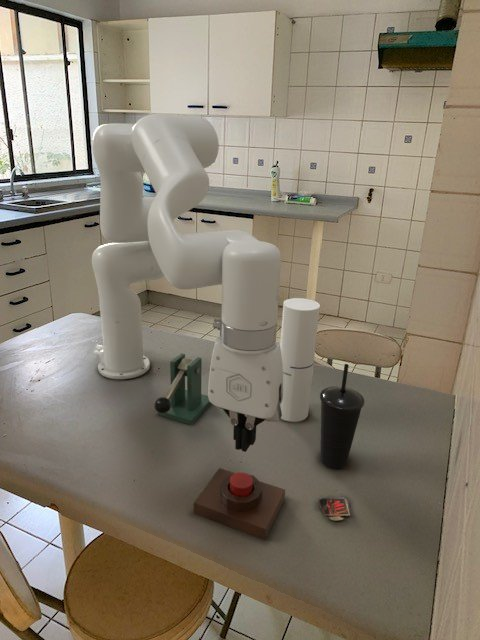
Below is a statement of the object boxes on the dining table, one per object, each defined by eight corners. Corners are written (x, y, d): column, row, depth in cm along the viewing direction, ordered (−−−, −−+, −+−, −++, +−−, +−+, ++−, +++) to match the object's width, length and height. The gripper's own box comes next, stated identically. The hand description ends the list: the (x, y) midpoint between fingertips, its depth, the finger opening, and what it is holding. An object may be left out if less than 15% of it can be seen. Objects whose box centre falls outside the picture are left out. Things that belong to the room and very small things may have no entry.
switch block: (193, 513, 73) (193, 493, 71) (219, 477, 80) (219, 459, 79) (265, 540, 68) (266, 519, 67) (284, 500, 76) (286, 480, 75)
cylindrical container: (306, 423, 96) (319, 312, 87) (273, 418, 98) (281, 308, 88) (309, 405, 103) (320, 300, 94) (277, 401, 104) (285, 296, 95)
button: (225, 492, 72) (226, 483, 71) (235, 478, 75) (235, 469, 75) (247, 500, 71) (247, 491, 70) (255, 485, 74) (256, 476, 73)
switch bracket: (191, 425, 95) (190, 374, 90) (157, 415, 97) (156, 365, 93) (213, 401, 103) (214, 354, 99) (182, 393, 106) (181, 346, 102)
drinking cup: (327, 479, 81) (340, 379, 74) (304, 453, 88) (315, 358, 80) (363, 468, 84) (379, 371, 77) (338, 444, 90) (351, 352, 83)
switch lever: (167, 418, 90) (163, 409, 88) (153, 414, 91) (149, 405, 89) (197, 369, 98) (194, 359, 96) (184, 365, 99) (180, 355, 97)
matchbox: (315, 501, 76) (315, 498, 76) (343, 496, 77) (344, 493, 77) (327, 522, 72) (328, 520, 72) (357, 517, 73) (358, 514, 73)
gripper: (187, 332, 63) (188, 446, 69) (292, 354, 57) (283, 475, 64) (212, 315, 69) (211, 420, 76) (309, 333, 63) (299, 445, 70)
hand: (244, 445), depth 70 cm, fingers closed
